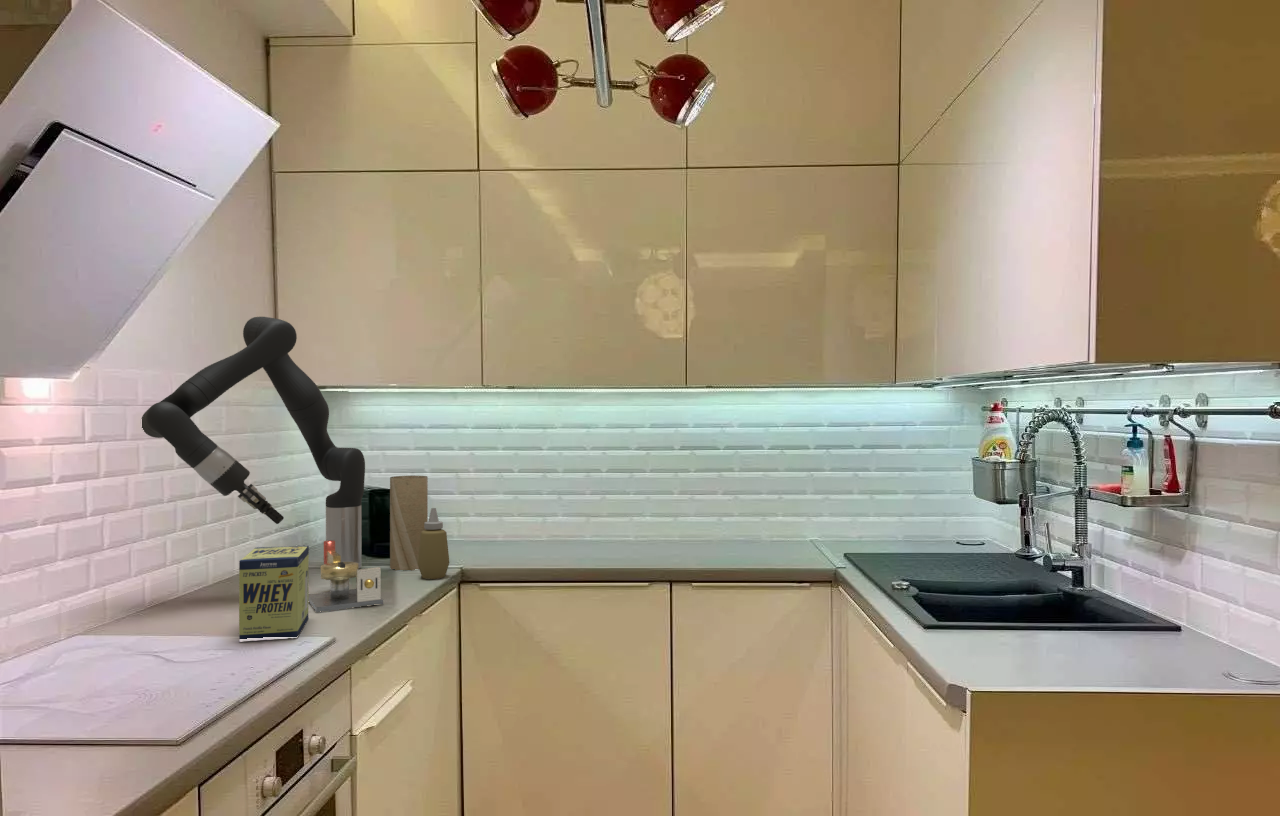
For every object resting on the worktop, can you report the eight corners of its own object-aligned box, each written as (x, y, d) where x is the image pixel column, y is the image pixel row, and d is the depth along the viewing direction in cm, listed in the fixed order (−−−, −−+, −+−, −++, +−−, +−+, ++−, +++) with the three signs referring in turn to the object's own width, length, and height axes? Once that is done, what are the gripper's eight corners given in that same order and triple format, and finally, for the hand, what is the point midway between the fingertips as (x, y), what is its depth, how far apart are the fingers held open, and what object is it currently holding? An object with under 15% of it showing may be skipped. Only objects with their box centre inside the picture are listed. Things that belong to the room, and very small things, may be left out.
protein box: (238, 643, 149) (238, 560, 149) (254, 622, 164) (254, 546, 164) (298, 639, 151) (298, 557, 151) (309, 618, 166) (309, 544, 166)
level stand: (306, 599, 183) (306, 563, 183) (369, 592, 190) (369, 558, 190) (317, 614, 170) (317, 575, 170) (384, 605, 177) (384, 568, 177)
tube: (408, 572, 214) (408, 479, 214) (382, 568, 219) (382, 477, 219) (435, 565, 222) (435, 476, 222) (409, 562, 227) (409, 475, 227)
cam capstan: (310, 568, 191) (310, 541, 191) (345, 565, 195) (345, 539, 195) (323, 583, 174) (323, 554, 174) (361, 579, 178) (361, 550, 178)
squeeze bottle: (423, 582, 201) (423, 511, 201) (413, 576, 208) (413, 507, 208) (454, 578, 206) (454, 508, 206) (443, 573, 212) (443, 505, 212)
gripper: (236, 460, 176) (296, 511, 182) (232, 457, 187) (289, 506, 194) (209, 485, 173) (271, 537, 179) (207, 480, 185) (265, 529, 191)
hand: (280, 520), depth 186 cm, fingers closed
